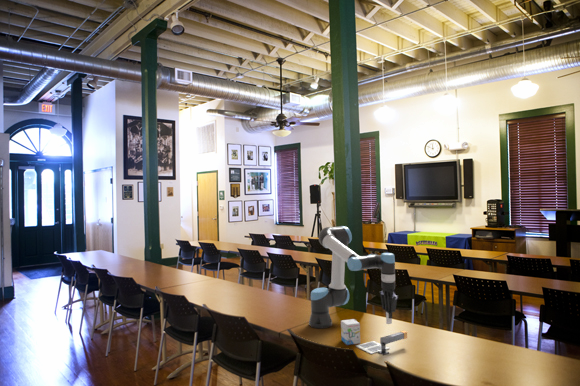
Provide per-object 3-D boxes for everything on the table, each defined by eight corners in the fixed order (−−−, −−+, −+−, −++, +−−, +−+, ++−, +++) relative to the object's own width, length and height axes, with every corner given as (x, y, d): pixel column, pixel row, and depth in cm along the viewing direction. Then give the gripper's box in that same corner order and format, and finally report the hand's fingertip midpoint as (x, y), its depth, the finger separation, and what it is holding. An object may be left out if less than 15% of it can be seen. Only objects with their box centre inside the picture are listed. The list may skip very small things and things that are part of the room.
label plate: (355, 346, 216) (355, 345, 216) (373, 341, 222) (373, 340, 222) (371, 354, 204) (371, 353, 204) (389, 349, 211) (389, 347, 211)
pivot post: (378, 352, 206) (377, 343, 206) (383, 351, 208) (383, 342, 208) (383, 355, 203) (383, 346, 203) (389, 353, 205) (388, 344, 205)
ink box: (347, 345, 218) (346, 324, 219) (341, 340, 227) (340, 320, 227) (360, 343, 221) (360, 322, 221) (354, 338, 229) (353, 318, 229)
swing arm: (383, 345, 203) (383, 339, 204) (379, 343, 206) (379, 337, 206) (407, 338, 213) (407, 332, 213) (403, 336, 216) (403, 330, 216)
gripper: (375, 279, 220) (376, 321, 220) (391, 284, 208) (392, 328, 208) (385, 278, 223) (386, 319, 223) (401, 282, 212) (402, 325, 212)
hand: (389, 323), depth 216 cm, fingers closed
